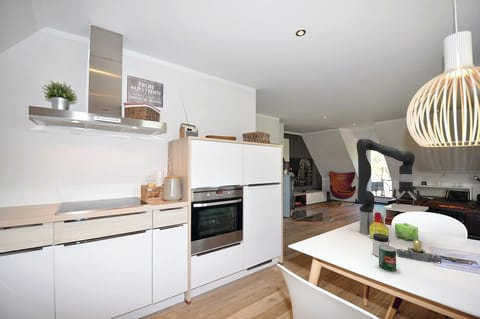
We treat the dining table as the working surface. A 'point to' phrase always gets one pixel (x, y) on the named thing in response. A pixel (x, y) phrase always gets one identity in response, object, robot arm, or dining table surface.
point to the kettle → (406, 231)
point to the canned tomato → (387, 258)
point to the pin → (417, 246)
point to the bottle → (378, 226)
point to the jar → (379, 242)
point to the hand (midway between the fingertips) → (406, 204)
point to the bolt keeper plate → (418, 255)
